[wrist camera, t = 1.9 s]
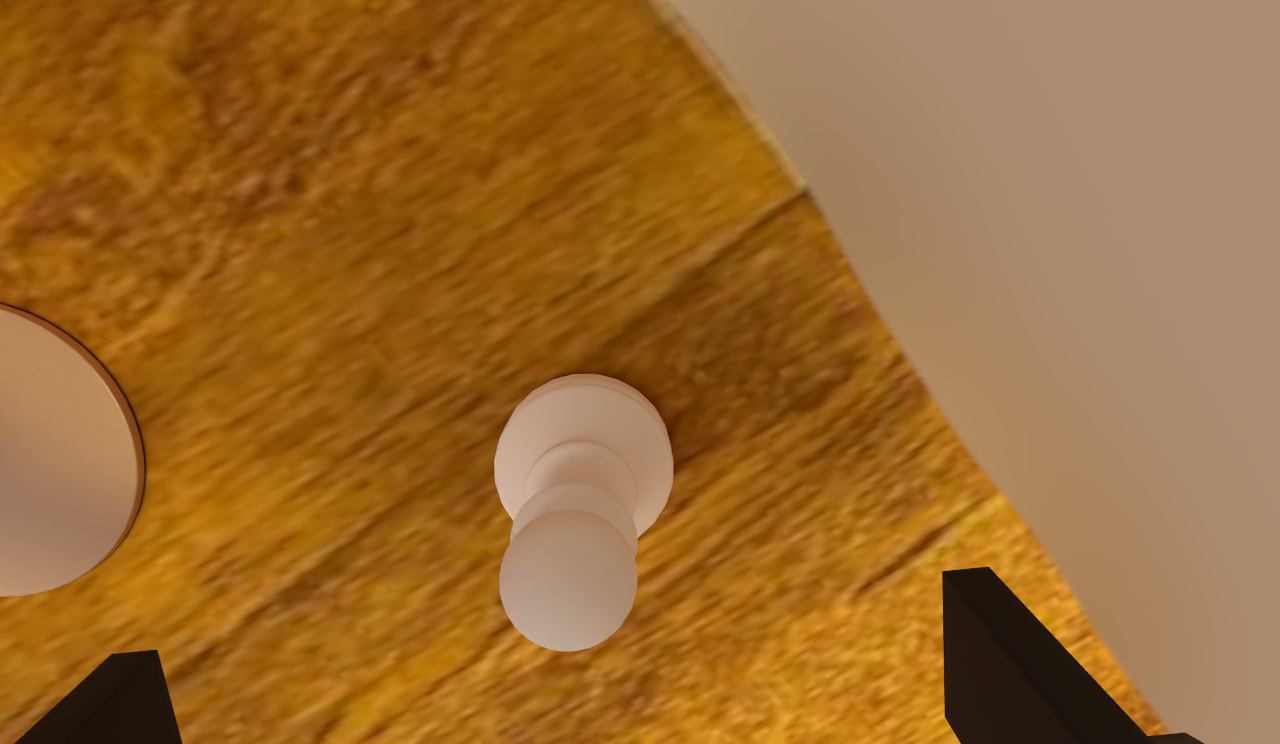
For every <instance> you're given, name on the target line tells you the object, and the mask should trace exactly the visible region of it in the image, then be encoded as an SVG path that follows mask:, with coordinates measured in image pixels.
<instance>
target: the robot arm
mask: <svg viewBox="0 0 1280 744" xmlns="http://www.w3.org/2000/svg"><path fill="white" fill-rule="evenodd" d="M942 580H943V639H944V697H945V718H946V719H947V721H948V723H949V724H950V726H951V728H952V729H953V731H954V733H955V734H956V736H957V738H958V740H959V741H960V743H961V744H1204V743H1202V742H1200V741H1199V740H1197V739H1195V738H1194V737H1192V736H1190V735H1188V734H1187V733H1176V734H1166V735H1156V736H1147V735H1146V734H1145V733H1144V732H1143V731H1142V730H1141V729H1140V728H1139V727H1138V726H1137V725H1136V724H1135V723H1134V721H1133V720H1132V719H1131V718H1130V717H1129V716H1128V715H1127V714H1126V713H1125V712H1124V711H1123V710H1122V709H1121V708H1120V707H1119V705H1118V704H1117V703H1116V702H1115V701H1114V700H1113V699H1112V698H1111V697H1110V696H1109V695H1108V694H1107V693H1106V692H1105V691H1104V689H1103V688H1102V687H1101V686H1100V685H1099V684H1098V683H1097V682H1096V681H1095V680H1094V679H1093V678H1092V677H1091V676H1090V675H1089V673H1088V672H1087V671H1086V670H1085V669H1084V668H1083V667H1082V666H1081V665H1080V664H1079V663H1078V662H1077V661H1076V660H1075V658H1074V657H1073V656H1072V655H1071V654H1070V653H1069V652H1068V651H1067V650H1066V649H1065V648H1064V647H1063V646H1062V645H1061V644H1060V642H1059V641H1058V640H1057V639H1056V638H1055V637H1054V636H1053V635H1052V634H1051V633H1050V632H1049V631H1048V630H1047V629H1046V628H1045V626H1044V625H1043V624H1042V623H1041V622H1040V621H1039V620H1038V619H1037V618H1036V617H1035V616H1034V615H1033V614H1032V613H1031V611H1030V610H1029V609H1028V608H1027V607H1026V606H1025V605H1024V604H1023V603H1022V602H1021V601H1020V600H1019V599H1018V598H1017V597H1016V595H1015V594H1014V593H1013V592H1012V591H1011V590H1010V589H1009V588H1008V587H1007V586H1006V585H1005V584H1004V583H1003V582H1002V581H1001V579H1000V578H999V577H998V576H997V575H996V574H995V573H994V572H993V571H992V570H991V569H990V568H989V567H981V568H971V569H961V570H951V571H942ZM14 744H182V740H181V737H180V733H179V729H178V726H177V722H176V718H175V714H174V711H173V707H172V703H171V699H170V696H169V692H168V688H167V684H166V681H165V677H164V673H163V669H162V666H161V662H160V658H159V654H158V651H157V650H149V651H139V652H129V653H119V654H112V655H110V656H109V657H108V658H107V659H106V660H105V661H104V662H103V663H102V664H101V665H99V666H98V667H97V668H96V669H95V670H94V671H93V672H92V673H91V674H90V675H89V676H87V677H86V678H85V679H84V680H83V681H82V682H81V683H80V684H79V685H78V686H77V687H75V688H74V689H73V690H72V691H71V692H70V693H69V694H68V695H67V696H66V697H65V698H63V699H62V700H61V701H60V702H59V703H58V704H57V705H56V706H55V707H54V708H53V709H51V710H50V711H49V712H48V713H47V714H46V715H45V716H44V717H43V718H42V719H41V720H39V721H38V722H37V723H36V724H35V725H34V726H33V727H32V728H31V729H30V730H29V731H27V732H26V733H25V734H24V735H23V736H22V737H21V738H20V739H19V740H18V741H17V742H15V743H14Z"/></svg>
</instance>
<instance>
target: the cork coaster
mask: <svg viewBox="0 0 1280 744" xmlns="http://www.w3.org/2000/svg"><path fill="white" fill-rule="evenodd" d="M144 475H145V471H144V454H143V449H142V443H141V438H140V434H139V431H138V428H137V425H136V422H135V419H134V416H133V414H132V412H131V410H130V408H129V406H128V404H127V402H126V400H125V398H124V396H123V394H122V393H121V391H120V390H119V388H118V387H117V385H116V383H115V382H114V380H113V379H112V378H111V377H110V375H109V374H108V373H107V372H106V370H105V369H104V368H103V367H102V366H101V364H100V363H99V362H98V361H97V360H96V359H95V358H94V357H93V356H92V355H91V354H90V353H89V352H88V351H87V350H86V349H85V348H83V347H82V346H81V345H80V344H78V343H77V342H76V341H75V340H73V339H72V338H71V337H69V336H68V335H67V334H65V333H64V332H62V331H61V330H59V329H57V328H56V327H54V326H52V325H51V324H49V323H48V322H46V321H43V320H41V319H39V318H37V317H35V316H33V315H31V314H29V313H26V312H24V311H21V310H18V309H15V308H12V307H9V306H6V305H2V304H0V597H6V596H24V595H31V594H37V593H42V592H46V591H49V590H53V589H56V588H59V587H62V586H64V585H66V584H68V583H71V582H73V581H75V580H77V579H79V578H80V577H82V576H83V575H85V574H86V573H88V572H90V571H91V570H93V569H94V568H95V567H97V566H98V565H99V564H100V563H101V562H103V561H104V560H105V559H106V558H107V557H108V556H110V555H111V554H112V553H113V551H114V550H115V549H116V548H117V547H118V546H119V544H120V543H121V542H122V541H123V539H124V538H125V536H126V534H127V533H128V531H129V529H130V528H131V526H132V524H133V522H134V519H135V517H136V514H137V512H138V510H139V506H140V502H141V497H142V493H143V486H144Z"/></svg>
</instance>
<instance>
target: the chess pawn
mask: <svg viewBox="0 0 1280 744" xmlns="http://www.w3.org/2000/svg"><path fill="white" fill-rule="evenodd" d="M673 462H674V460H673V456H672V449H671V444H670V440H669V437H668V433H667V429H666V425H665V423H664V422H663V420H662V418H661V417H660V415H659V413H658V412H657V410H656V408H655V406H654V405H653V404H652V403H651V402H649V401H648V400H647V399H646V398H645V397H644V396H643V395H642V394H641V393H640V392H639V391H638V390H636V389H634V388H633V387H631V386H629V385H627V384H626V383H624V382H622V381H620V380H618V379H614V378H610V377H607V376H603V375H599V374H572V375H568V376H564V377H560V378H556V379H552V380H551V381H549V382H547V383H545V384H543V385H542V386H540V387H538V388H536V389H534V390H533V391H532V392H531V393H530V394H529V395H528V396H527V397H526V398H525V399H524V400H523V401H522V402H520V403H519V404H518V405H517V407H516V408H515V410H514V412H513V414H512V415H511V417H510V419H509V421H508V422H507V424H506V426H505V428H504V431H503V433H502V435H501V436H500V438H499V442H498V446H497V450H496V454H495V458H494V470H495V484H496V487H497V490H498V493H499V496H500V500H501V503H502V505H503V506H504V508H505V509H506V511H507V512H508V514H509V515H510V517H511V519H512V520H513V526H512V530H511V534H510V545H509V546H508V548H507V550H506V552H505V554H504V557H503V561H502V565H501V569H500V573H499V582H500V596H501V600H502V603H503V606H504V609H505V612H506V614H507V616H508V617H509V619H510V620H511V622H512V623H513V625H514V626H515V628H516V629H517V630H518V631H519V632H520V633H522V634H523V635H524V636H525V637H526V638H527V639H528V640H530V641H532V642H534V643H536V644H538V645H540V646H542V647H544V648H547V649H552V650H556V651H578V650H582V649H586V648H591V647H593V646H595V645H597V644H599V643H601V642H602V641H604V640H606V639H607V638H609V637H610V636H611V635H612V634H613V633H614V632H615V631H616V630H617V629H619V628H620V627H621V625H622V623H623V622H624V620H625V619H626V617H627V616H628V614H629V613H630V611H631V609H632V606H633V602H634V599H635V596H636V593H637V565H636V562H635V557H636V553H637V542H638V537H639V536H640V535H642V534H643V533H644V532H645V531H646V530H647V529H648V528H649V527H650V526H651V525H652V524H654V523H655V521H656V520H657V518H658V516H659V515H660V513H661V512H662V510H663V509H664V507H665V505H666V504H667V501H668V497H669V494H670V491H671V488H672V484H673Z"/></svg>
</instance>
